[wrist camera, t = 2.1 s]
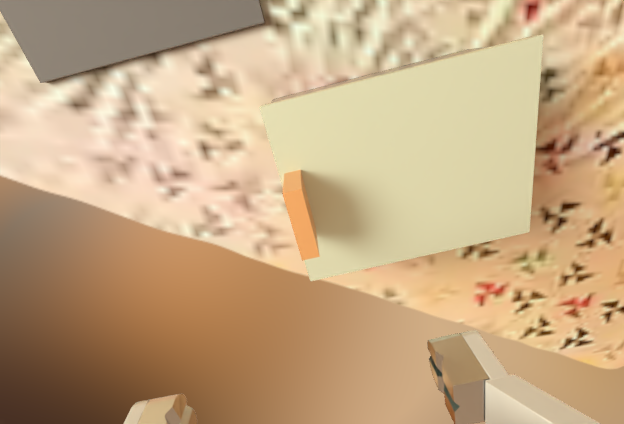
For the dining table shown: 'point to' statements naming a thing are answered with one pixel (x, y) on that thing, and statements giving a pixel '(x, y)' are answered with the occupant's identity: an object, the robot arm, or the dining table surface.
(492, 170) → the lid
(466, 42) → the dining table surface
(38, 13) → the mat
